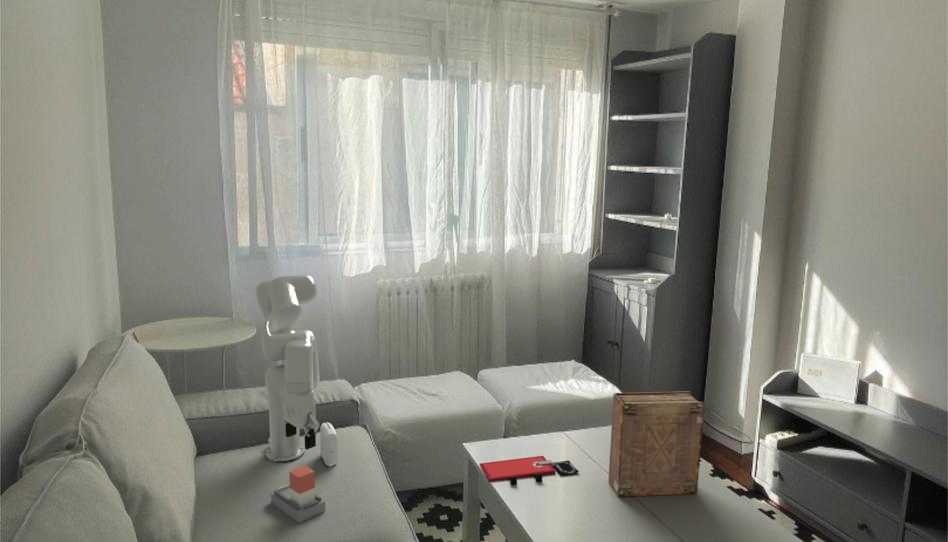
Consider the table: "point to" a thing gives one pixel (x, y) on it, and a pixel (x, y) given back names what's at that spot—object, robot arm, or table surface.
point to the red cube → (302, 479)
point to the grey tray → (292, 509)
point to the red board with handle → (524, 469)
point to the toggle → (302, 497)
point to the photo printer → (328, 443)
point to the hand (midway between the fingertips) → (300, 441)
